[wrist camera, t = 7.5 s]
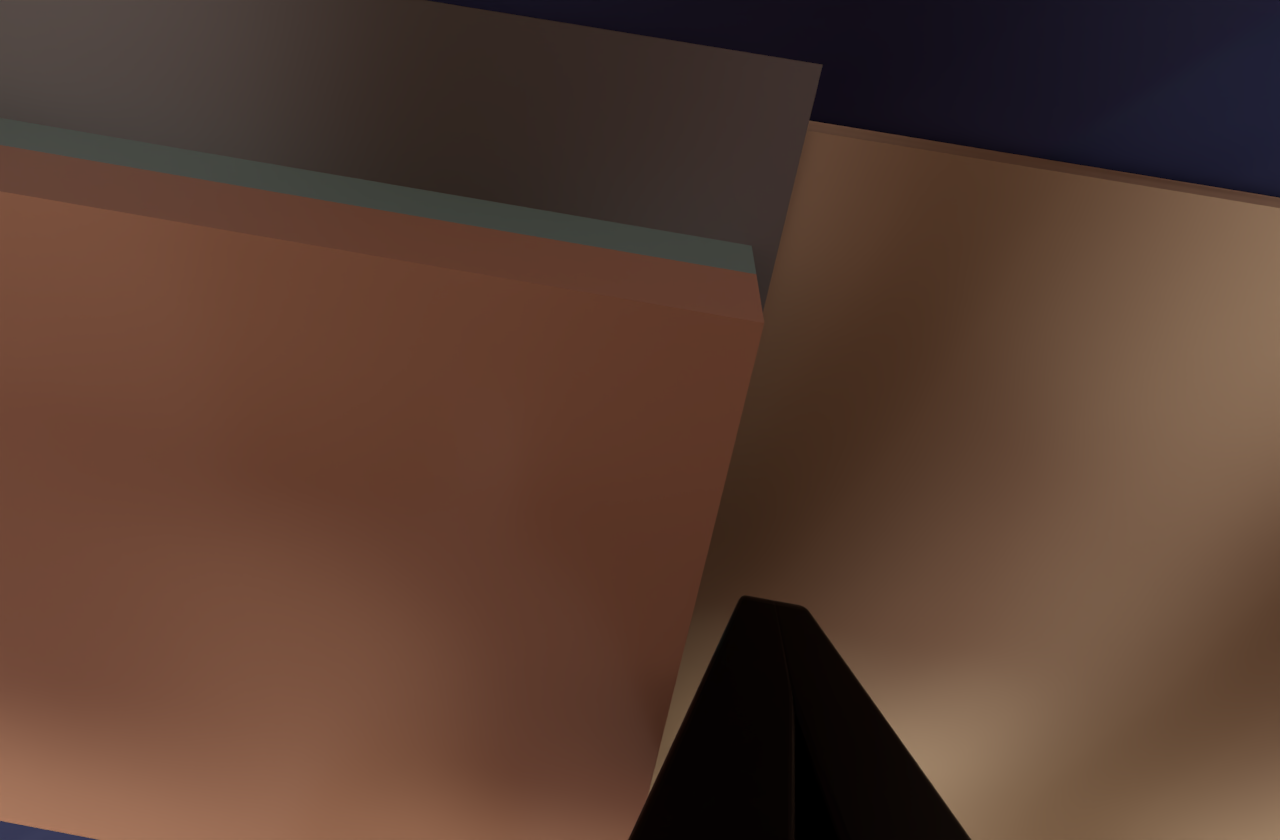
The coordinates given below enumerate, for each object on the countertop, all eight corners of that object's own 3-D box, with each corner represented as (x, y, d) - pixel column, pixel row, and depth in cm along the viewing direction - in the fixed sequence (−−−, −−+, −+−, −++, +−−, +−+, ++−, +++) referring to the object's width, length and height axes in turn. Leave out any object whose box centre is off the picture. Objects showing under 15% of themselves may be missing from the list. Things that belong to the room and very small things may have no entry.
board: (1921, 242, 6) (2178, 284, 5) (1147, 977, 13) (1187, 1063, 12) (-143, -92, 7) (-316, -120, 6) (152, 789, 14) (101, 857, 13)
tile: (764, 321, 4) (-409, 121, 5) (612, 937, 8) (-24, 816, 8) (751, 245, 6) (-102, 100, 6) (631, 783, 10) (103, 684, 10)
